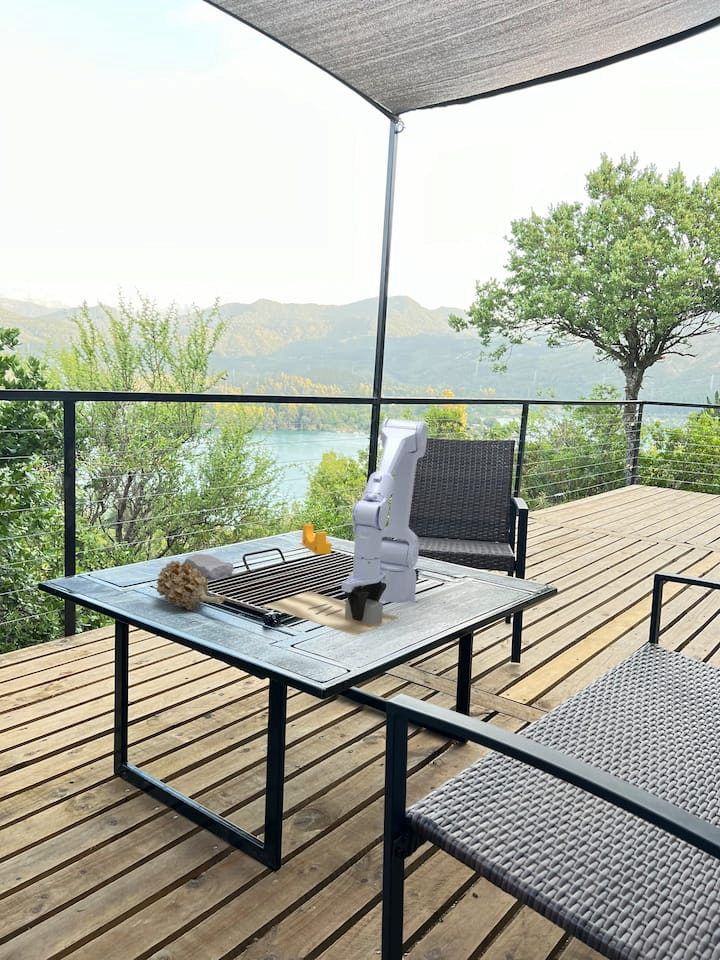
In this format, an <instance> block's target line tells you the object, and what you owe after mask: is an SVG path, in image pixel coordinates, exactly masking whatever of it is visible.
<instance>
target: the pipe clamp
mask: <svg viewBox="0 0 720 960" xmlns="http://www.w3.org/2000/svg"><path fill="white" fill-rule="evenodd" d="M301 540H302V542H301V545H302V546H304V547H305V548H307V549H309V550H310V551H312V552H313V553H314V554H316V555H327V554H328V555H329V554H331V553H332V542H329V541H328V540H327V532H326V531H315V532H314V525H313V524H312V523H311V524H310V523H309V524H304V523H303V525H302V539H301Z"/></svg>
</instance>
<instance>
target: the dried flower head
mask: <svg viewBox="0 0 720 960" xmlns="http://www.w3.org/2000/svg"><path fill="white" fill-rule="evenodd" d="M160 570H161V571H160V572H159V574H157V577H158V579H157V581H156V583H157V587H156V592H157V593H158V594H159V596H164V598H163V599H164V601H166V602H167V603H168V604H172V603H173V604H174V606H175V607H177V606H178V608H182V607H184V606H185V608H186V609H187V611H188V610H192V611H193V609H194V608H195V607H196V606H198V607H199V606H200V605H201V603H203V602H208V603H210V604H211V603H212V604H213V603H214V604H224V602H225V600H226V595H225V594H222V595H221V596H210V595H207V594H208V592H209V587H208V582H209V579H206V578H205V577H202V576H201V573H200V571H197V569H196V568H194V569H192V568H191V565H190V563H189V564H187V563H186V562H185V561H184V562H183V563H181V562H179V560H176V561H174V560H171V561H170V563H167V564H165V567H162V568H161V569H160Z"/></svg>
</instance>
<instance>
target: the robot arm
mask: <svg viewBox="0 0 720 960" xmlns="http://www.w3.org/2000/svg"><path fill="white" fill-rule="evenodd" d="M379 435H380V440H381V446H382V452H381V456H380V460H379V464H378V467H377V471H374V472H373V473H371V474H370V476H369V478H368V481H367V483H366V487H365V489H364V491H363V494H362V496H361V498H360V500H359V501H356V502H355V503H354V505H353V507H352V512H351V513H352V514H351V522H352V526H353V527H352V533H353V535H354V551H353V565H352V572H349V573H348V576H349V577H348V578H347V579H345V580H343V581H341V591H342V592H344V594H345V596H346V599H348V601H349V604H350V608H351V613H352V618H353V619H354V620H357V621H362V618H363V614H364V607H365V603H366V600H367V599H371V600H374V601H378V602H380V600H381V601H384V602H387V603H388V602H389V603H403V602H407V601H410V602H413V603H418V602H419V600H418V599H416V588H417V573H416V570H415V569H414V567H416V565H417V562H418V559H419V537H418V535H417V534H416V533H414V531H413V530H412V529H411V528H410V527H409V525H410V524H409V523H410V515H411V510H412V507H411V506H412V502H413V501H412V500H413V493H414V484H415V478H416V469H417V463H418V460H419V459H421V458H423V457H425V452H426V451H427V450H426V449H427V442H428V426H427V424H426V423H425V421H423V420H421V421H419V420H418V421H417V420H406V419H397V418H396V419H395V418H394V419H393V418H389V417H387V418H385V419H384V420H383V421H382V423H381V426H380V433H379ZM393 477H394V478H393ZM390 499H391V501H390ZM389 502H390V504H389ZM388 515H389V516H388ZM387 522H388V525H387ZM397 539H398V540H397Z"/></svg>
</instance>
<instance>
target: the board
mask: <svg viewBox="0 0 720 960" xmlns="http://www.w3.org/2000/svg"><path fill="white" fill-rule="evenodd" d="M345 607H346V600H345V601H344V600H341V599H337V598H335V597H331V596H326V595H325V594H324V595H323V594H319V593H316V592H312V591H311V590H307V591H304V592H301V593H299V594H298V593H297V594H295V595H292V596H289V597H286V598H283V599H280V600H277V601H273V602H271V603H267V604H264V605H262V609H263V608H265V610H268V609H271V610H274V611H277V612H281V613H283V614H286V615H290V616H294V617H296V618H299V619H303V620H306V621H310V622H312V623H314V624H315V623H316V624H318V625H320V626H321V625H322V626H325V627H327V628H331V629H333V630H334V629H335V630H337V631H341V632H344V633H346V634H350V635H353V636H359V635H361V634H363V633H366V632H368V631H370V630H372V629H374V628H377V627H380V626H381V625H384V624H386V623H387V624H388V623H389V622H391V621H393V620H396V619H398V618H399V616H396V615H392V614H389V613H385V612H382V623H381V624H378V625H376V626H374V627H368V626H364V625H361V624H358V623H354V622H351V621H348V620H345Z"/></svg>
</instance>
